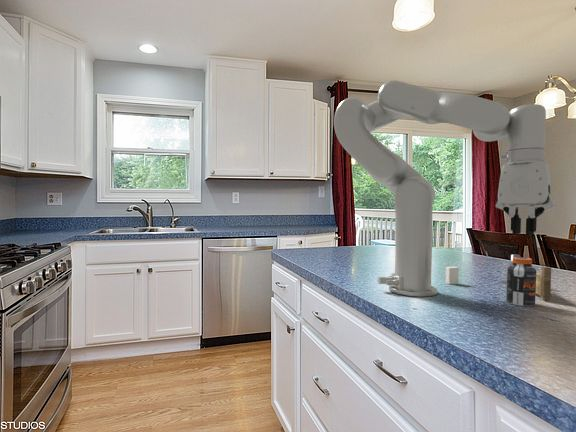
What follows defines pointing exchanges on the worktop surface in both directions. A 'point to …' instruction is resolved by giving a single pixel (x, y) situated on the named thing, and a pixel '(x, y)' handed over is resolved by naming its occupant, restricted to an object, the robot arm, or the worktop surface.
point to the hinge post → (510, 264)
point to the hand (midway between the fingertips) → (523, 233)
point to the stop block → (452, 275)
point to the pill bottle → (521, 282)
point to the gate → (544, 283)
